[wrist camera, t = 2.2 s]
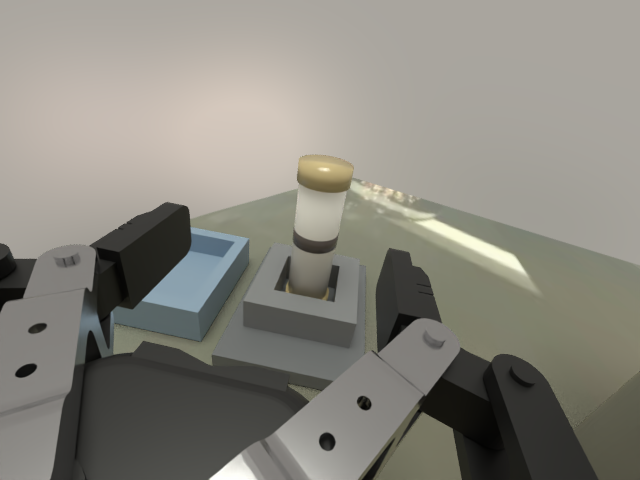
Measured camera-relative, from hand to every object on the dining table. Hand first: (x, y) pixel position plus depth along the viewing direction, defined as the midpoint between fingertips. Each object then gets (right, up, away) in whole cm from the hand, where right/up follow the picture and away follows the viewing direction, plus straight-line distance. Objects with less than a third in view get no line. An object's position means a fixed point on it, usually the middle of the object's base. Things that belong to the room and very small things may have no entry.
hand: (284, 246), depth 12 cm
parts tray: (-14, -4, +19) cm, 24 cm away
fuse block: (0, -7, +19) cm, 20 cm away
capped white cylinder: (0, -6, +18) cm, 19 cm away
